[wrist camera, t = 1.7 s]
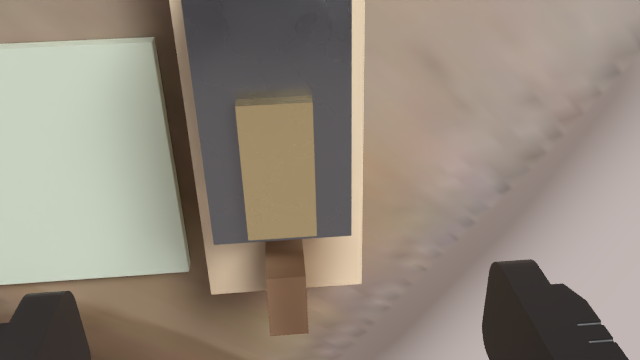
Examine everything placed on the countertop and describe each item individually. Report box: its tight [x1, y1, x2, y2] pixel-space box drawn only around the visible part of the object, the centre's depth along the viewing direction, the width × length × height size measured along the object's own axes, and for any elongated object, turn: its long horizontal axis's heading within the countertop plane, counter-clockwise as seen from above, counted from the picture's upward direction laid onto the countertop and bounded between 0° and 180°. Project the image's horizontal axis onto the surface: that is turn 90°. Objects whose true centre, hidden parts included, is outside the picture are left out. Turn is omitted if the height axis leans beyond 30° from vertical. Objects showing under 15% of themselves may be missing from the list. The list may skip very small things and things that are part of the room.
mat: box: [0, 37, 191, 285], centre depth 28 cm, size 12×12×1 cm
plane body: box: [169, 0, 365, 336], centre depth 23 cm, size 7×20×7 cm, turn 2°
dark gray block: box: [181, 0, 352, 245], centre depth 21 cm, size 5×9×5 cm, turn 1°
